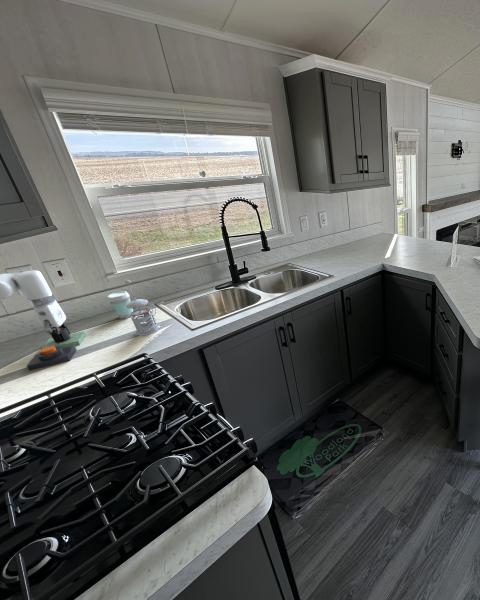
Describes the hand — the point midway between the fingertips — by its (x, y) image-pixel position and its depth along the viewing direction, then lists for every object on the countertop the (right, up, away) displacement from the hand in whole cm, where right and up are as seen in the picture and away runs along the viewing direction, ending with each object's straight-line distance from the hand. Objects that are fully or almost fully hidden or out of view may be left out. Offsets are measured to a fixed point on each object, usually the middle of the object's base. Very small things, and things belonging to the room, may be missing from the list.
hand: (63, 338), depth 141 cm
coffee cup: (+8, +8, +24) cm, 26 cm away
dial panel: (0, -3, +1) cm, 3 cm away
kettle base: (+7, -8, -10) cm, 14 cm away
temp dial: (0, -1, 0) cm, 1 cm away
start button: (+7, -4, -11) cm, 14 cm away
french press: (+29, +3, +11) cm, 31 cm away
